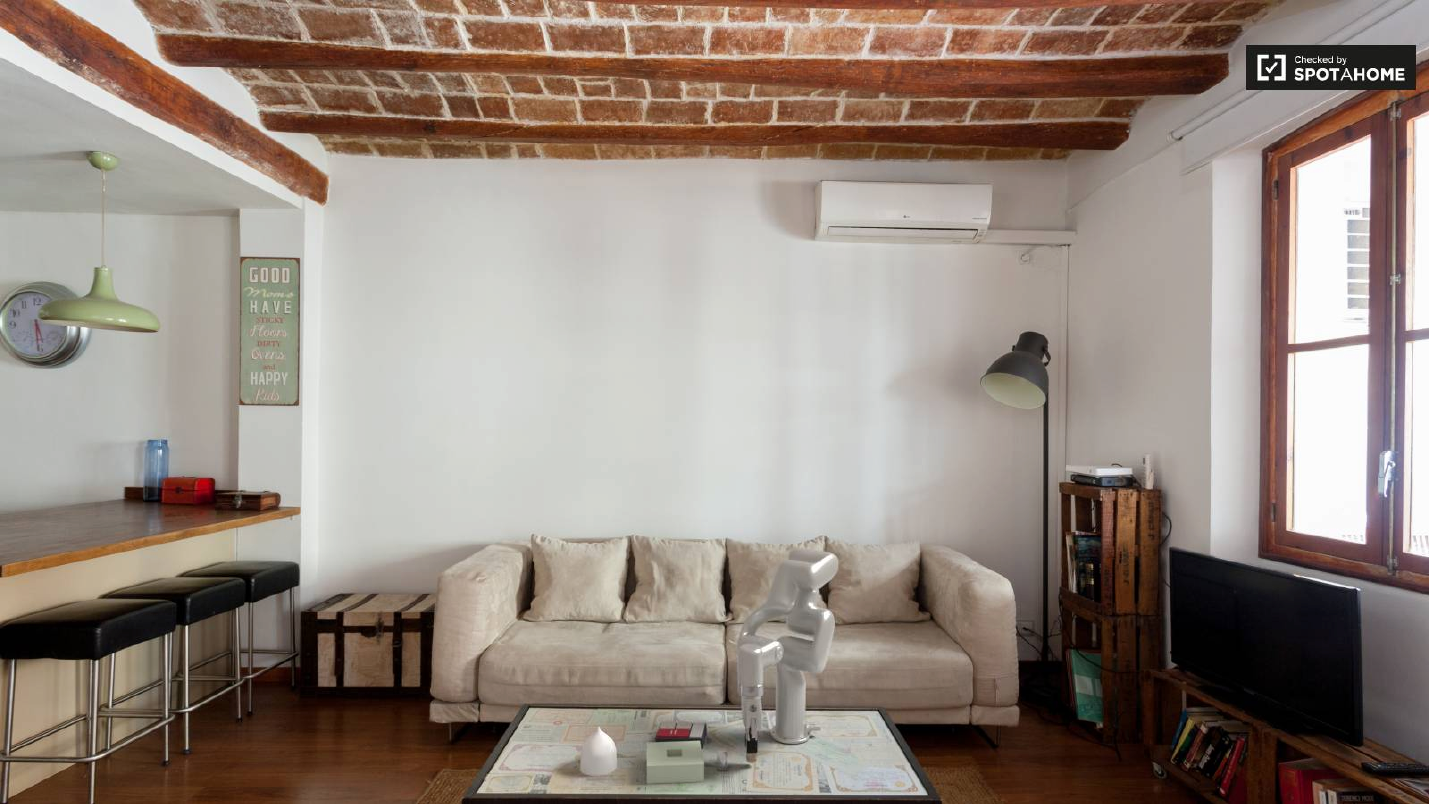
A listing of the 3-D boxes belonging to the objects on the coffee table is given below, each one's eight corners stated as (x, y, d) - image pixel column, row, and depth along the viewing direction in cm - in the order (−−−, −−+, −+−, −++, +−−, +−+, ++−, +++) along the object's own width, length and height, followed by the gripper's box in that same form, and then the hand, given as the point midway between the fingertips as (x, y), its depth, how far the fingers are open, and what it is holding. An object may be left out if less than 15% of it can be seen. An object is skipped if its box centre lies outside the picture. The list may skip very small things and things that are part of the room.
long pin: (755, 757, 217) (755, 720, 216) (757, 762, 214) (756, 725, 213) (745, 757, 216) (745, 721, 216) (746, 763, 213) (746, 725, 213)
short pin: (726, 765, 215) (726, 748, 215) (727, 770, 212) (728, 753, 212) (716, 766, 215) (716, 749, 215) (717, 771, 212) (717, 754, 212)
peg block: (699, 757, 220) (700, 740, 220) (703, 781, 206) (703, 763, 206) (646, 759, 218) (646, 742, 218) (646, 784, 204) (646, 766, 204)
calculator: (660, 720, 238) (706, 720, 236) (661, 733, 238) (707, 734, 236) (654, 735, 227) (702, 736, 225) (655, 749, 227) (703, 750, 225)
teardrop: (576, 761, 217) (576, 720, 217) (612, 755, 221) (613, 715, 221) (583, 779, 207) (583, 736, 207) (621, 772, 211) (621, 731, 211)
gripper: (767, 699, 207) (768, 763, 207) (758, 676, 223) (759, 735, 223) (741, 700, 206) (742, 765, 206) (734, 677, 222) (735, 737, 223)
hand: (751, 749), depth 215 cm, fingers closed on long pin, 3 cm apart
